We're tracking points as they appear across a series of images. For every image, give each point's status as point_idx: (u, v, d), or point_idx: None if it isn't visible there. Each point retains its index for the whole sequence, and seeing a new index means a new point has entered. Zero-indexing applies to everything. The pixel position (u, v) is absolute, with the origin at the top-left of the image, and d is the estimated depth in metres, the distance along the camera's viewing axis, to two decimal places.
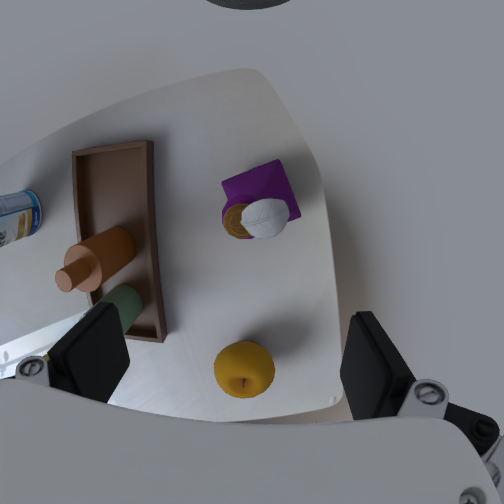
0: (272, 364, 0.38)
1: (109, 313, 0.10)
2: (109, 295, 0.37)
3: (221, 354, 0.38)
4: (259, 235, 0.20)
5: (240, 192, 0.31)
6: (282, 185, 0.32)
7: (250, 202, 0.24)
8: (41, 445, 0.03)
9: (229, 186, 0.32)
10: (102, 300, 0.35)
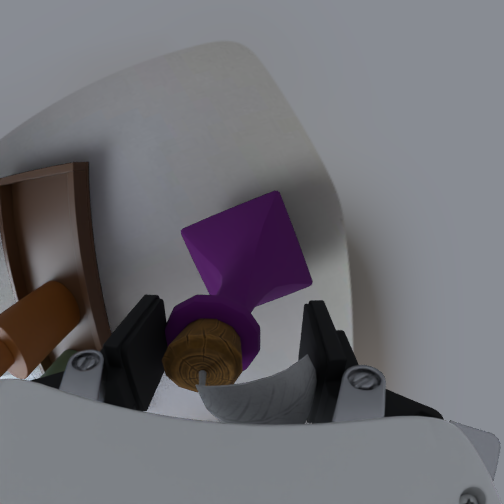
0: None
1: (157, 305, 0.10)
2: (53, 369, 0.23)
3: None
4: None
5: (210, 256, 0.17)
6: (285, 238, 0.19)
7: (222, 316, 0.11)
8: (41, 445, 0.03)
9: (192, 239, 0.19)
10: None
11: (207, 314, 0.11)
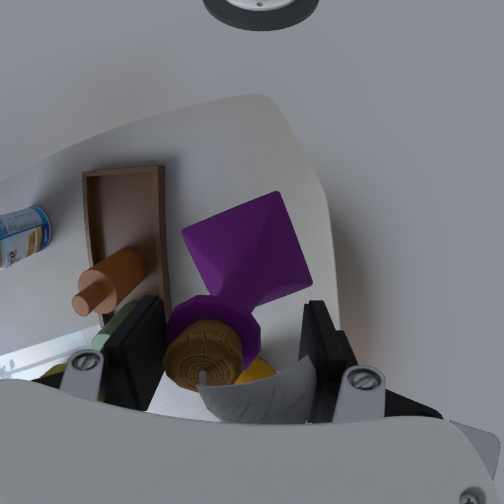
0: None
1: (157, 305, 0.10)
2: (121, 314, 0.38)
3: None
4: None
5: (210, 256, 0.17)
6: (285, 238, 0.19)
7: (222, 316, 0.11)
8: (41, 445, 0.03)
9: (192, 240, 0.19)
10: (115, 319, 0.37)
11: (208, 314, 0.11)
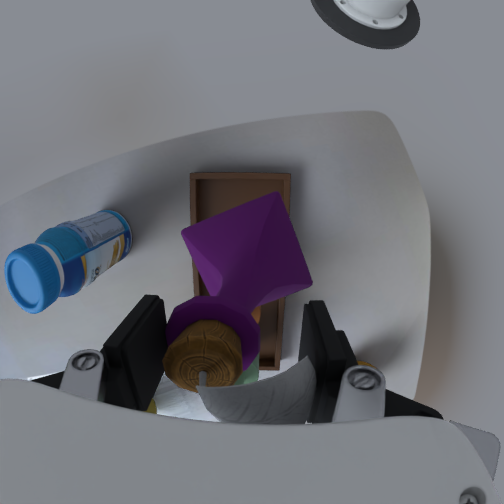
0: None
1: (157, 305, 0.10)
2: None
3: None
4: None
5: (210, 256, 0.17)
6: (285, 239, 0.19)
7: (222, 317, 0.11)
8: (41, 445, 0.03)
9: (192, 240, 0.19)
10: None
11: (207, 315, 0.11)
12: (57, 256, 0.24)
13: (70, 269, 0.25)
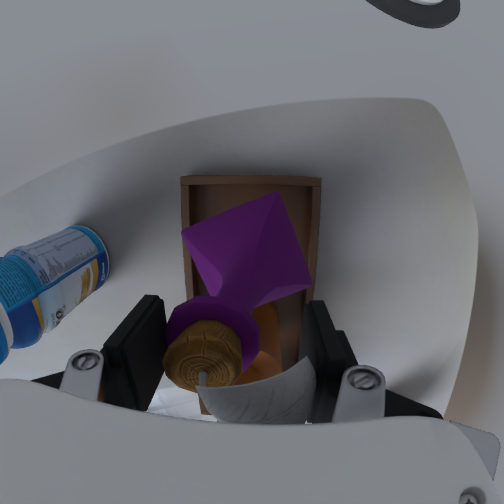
0: None
1: (156, 305, 0.10)
2: None
3: None
4: None
5: (210, 256, 0.17)
6: (285, 239, 0.19)
7: (222, 317, 0.11)
8: (41, 445, 0.03)
9: (192, 240, 0.19)
10: None
11: (207, 315, 0.11)
12: (0, 302, 0.14)
13: (18, 318, 0.15)
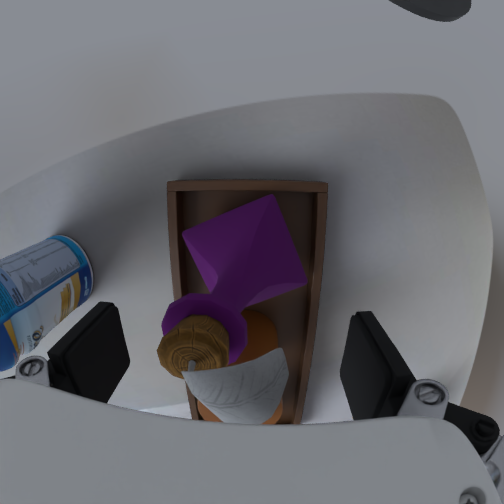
0: None
1: (109, 313, 0.10)
2: None
3: None
4: (223, 418, 0.08)
5: (208, 256, 0.19)
6: (279, 240, 0.20)
7: (211, 312, 0.12)
8: (41, 445, 0.03)
9: (192, 241, 0.20)
10: None
11: (198, 310, 0.12)
12: None
13: None
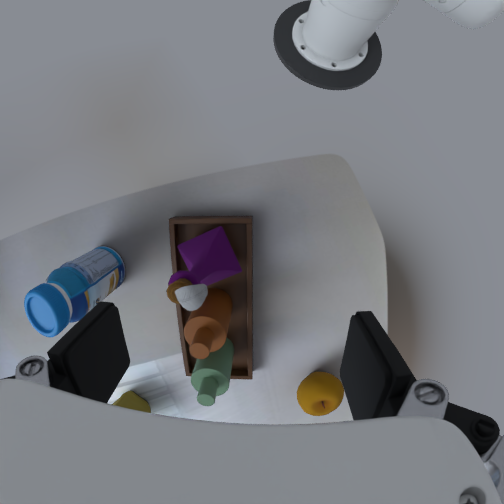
0: (343, 388, 0.46)
1: (109, 313, 0.10)
2: None
3: (305, 384, 0.46)
4: (187, 308, 0.29)
5: (189, 257, 0.39)
6: (223, 249, 0.40)
7: (186, 277, 0.32)
8: (41, 445, 0.03)
9: (182, 250, 0.41)
10: None
11: (182, 276, 0.32)
12: (66, 293, 0.31)
13: (76, 302, 0.32)
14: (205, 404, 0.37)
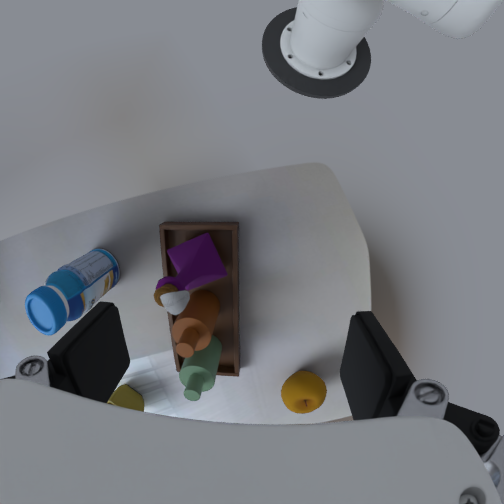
0: (325, 388, 0.49)
1: (109, 313, 0.10)
2: None
3: (289, 383, 0.49)
4: (170, 312, 0.31)
5: (177, 262, 0.41)
6: (209, 254, 0.42)
7: (172, 282, 0.34)
8: (41, 445, 0.03)
9: (171, 255, 0.43)
10: (196, 351, 0.46)
11: (168, 282, 0.34)
12: (63, 295, 0.34)
13: (73, 303, 0.35)
14: (191, 399, 0.39)
